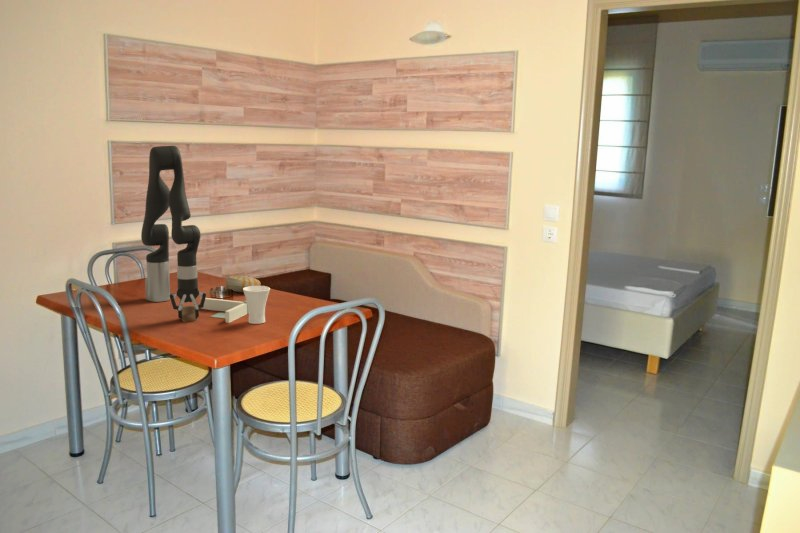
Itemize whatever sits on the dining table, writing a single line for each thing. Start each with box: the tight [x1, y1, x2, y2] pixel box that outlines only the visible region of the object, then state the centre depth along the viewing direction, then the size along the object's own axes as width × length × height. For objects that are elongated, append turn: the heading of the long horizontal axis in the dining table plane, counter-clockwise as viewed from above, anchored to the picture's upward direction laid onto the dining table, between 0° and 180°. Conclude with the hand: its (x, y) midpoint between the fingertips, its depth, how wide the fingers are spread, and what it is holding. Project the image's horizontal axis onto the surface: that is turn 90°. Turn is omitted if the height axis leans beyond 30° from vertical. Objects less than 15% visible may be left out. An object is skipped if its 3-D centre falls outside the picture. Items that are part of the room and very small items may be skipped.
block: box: [181, 305, 197, 323], centre depth 261 cm, size 5×5×5 cm
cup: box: [243, 285, 271, 325], centre depth 259 cm, size 10×10×14 cm
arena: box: [200, 297, 249, 324], centre depth 268 cm, size 22×16×5 cm
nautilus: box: [225, 274, 262, 293], centre depth 312 cm, size 8×22×15 cm
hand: (188, 318), depth 261 cm, fingers closed on block, 5 cm apart
